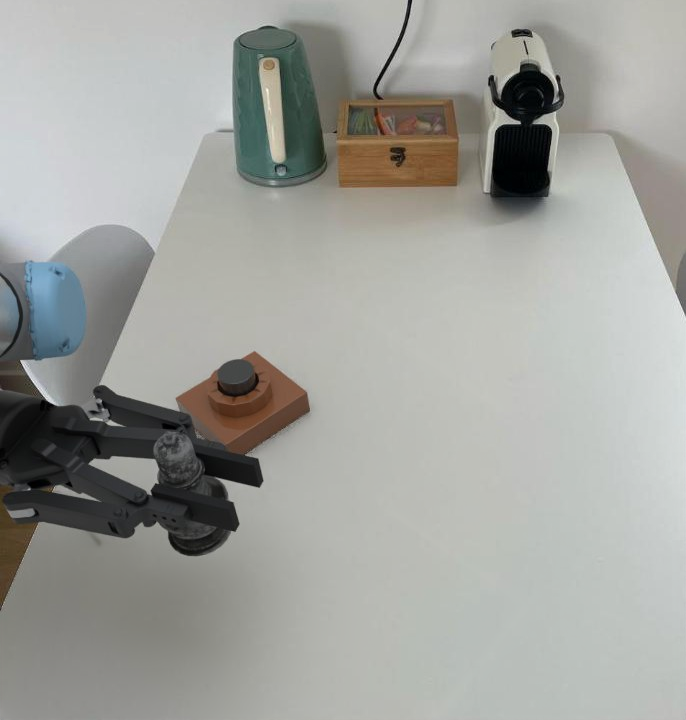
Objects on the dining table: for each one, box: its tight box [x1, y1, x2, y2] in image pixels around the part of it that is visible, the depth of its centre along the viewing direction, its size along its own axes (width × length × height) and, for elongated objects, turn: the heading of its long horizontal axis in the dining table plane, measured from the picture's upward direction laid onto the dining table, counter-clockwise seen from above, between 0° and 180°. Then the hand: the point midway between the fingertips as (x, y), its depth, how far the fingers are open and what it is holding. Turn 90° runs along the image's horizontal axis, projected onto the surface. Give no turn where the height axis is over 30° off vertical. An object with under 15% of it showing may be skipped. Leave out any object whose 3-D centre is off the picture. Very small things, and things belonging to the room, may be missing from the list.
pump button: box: [217, 358, 257, 397], centre depth 89 cm, size 4×4×2 cm
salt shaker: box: [153, 431, 232, 557], centre depth 63 cm, size 6×6×12 cm
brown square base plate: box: [175, 350, 311, 455], centre depth 91 cm, size 11×10×5 cm
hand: (246, 494), depth 62 cm, fingers closed on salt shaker, 4 cm apart
